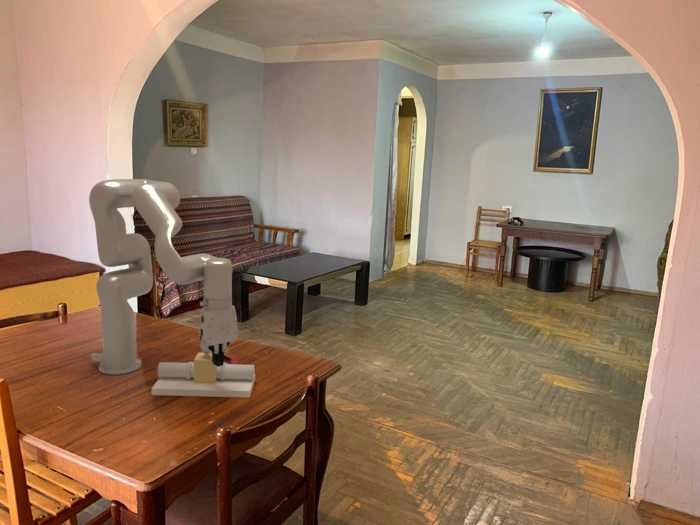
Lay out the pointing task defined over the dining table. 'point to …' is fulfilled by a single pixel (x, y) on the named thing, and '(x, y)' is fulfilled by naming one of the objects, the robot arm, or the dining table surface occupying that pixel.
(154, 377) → the dining table surface
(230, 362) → the valve lever
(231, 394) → the valve base
